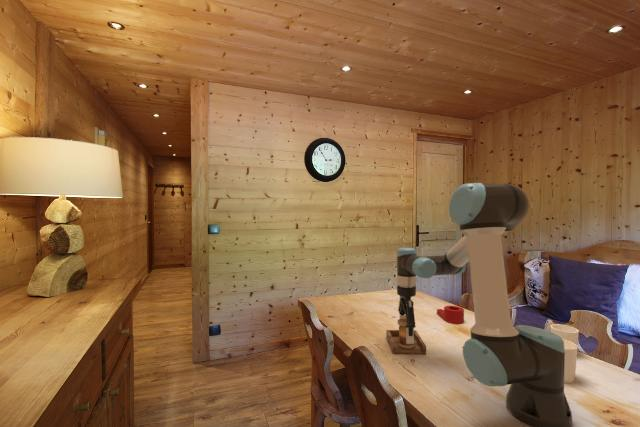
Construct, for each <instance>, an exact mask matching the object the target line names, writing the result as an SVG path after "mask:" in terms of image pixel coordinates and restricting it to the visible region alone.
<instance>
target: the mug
mask: <svg viewBox="0 0 640 427" xmlns="http://www.w3.org/2000/svg"><path fill="white" fill-rule="evenodd" d="M549 328H550V332H552V333H555V334H557V335H558V336H560V337H561V338H562V339H564V340H568V341H570V342H573V343H574V344H576V345H577V346H578V347H579V333H580V332H579V331H580V330H579V329H577V328H576V327H573V326H570V325H567V324H559V323H557V324H555V323H554V324H551V325H550V326H549Z"/></svg>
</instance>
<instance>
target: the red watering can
mask: <svg viewBox="0 0 640 427" xmlns="http://www.w3.org/2000/svg"><path fill="white" fill-rule="evenodd" d="M436 315H437V316H438V317H439V318H441V319H442V320H443V321H444V322H445V321H446V323H447V322H448V323H447V324H450V323H451V324H452V325H463V324H464V323H465V309H464V308H463V307H461V306H457V305H445V306H444V307H443V309H441V308H439V309H438V308H437V309H436Z"/></svg>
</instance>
